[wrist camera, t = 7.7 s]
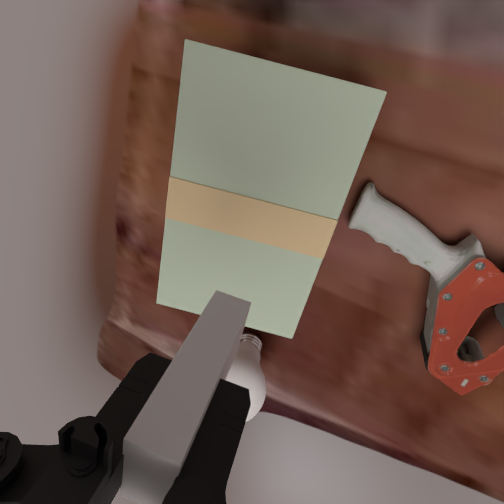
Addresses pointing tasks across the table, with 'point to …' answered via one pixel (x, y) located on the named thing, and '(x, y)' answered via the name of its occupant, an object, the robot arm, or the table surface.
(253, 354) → the light bulb
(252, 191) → the lid
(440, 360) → the tape dispenser
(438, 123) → the table surface
